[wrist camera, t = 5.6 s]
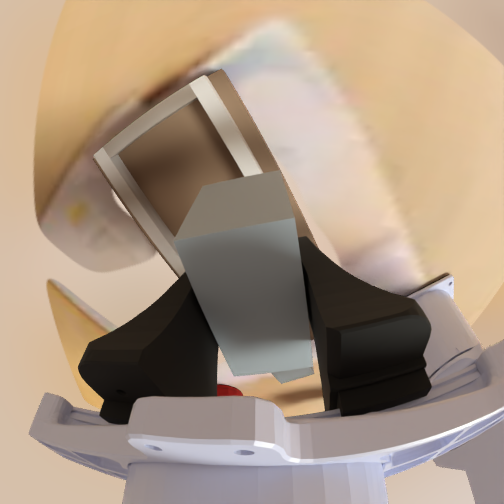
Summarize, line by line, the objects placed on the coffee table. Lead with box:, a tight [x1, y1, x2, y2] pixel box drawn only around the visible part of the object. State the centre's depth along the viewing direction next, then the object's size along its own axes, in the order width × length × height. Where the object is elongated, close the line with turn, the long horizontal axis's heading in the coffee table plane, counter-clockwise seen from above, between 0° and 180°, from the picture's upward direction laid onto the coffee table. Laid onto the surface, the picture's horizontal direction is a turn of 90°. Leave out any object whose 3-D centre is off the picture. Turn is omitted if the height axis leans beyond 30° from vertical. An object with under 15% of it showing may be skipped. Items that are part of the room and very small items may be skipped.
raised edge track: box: [93, 69, 319, 384], centre depth 19 cm, size 24×11×6 cm, turn 28°
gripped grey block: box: [174, 170, 313, 376], centre depth 12 cm, size 4×7×5 cm, turn 12°
